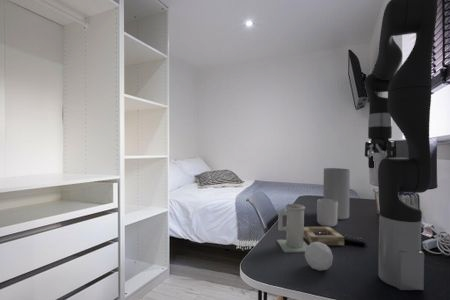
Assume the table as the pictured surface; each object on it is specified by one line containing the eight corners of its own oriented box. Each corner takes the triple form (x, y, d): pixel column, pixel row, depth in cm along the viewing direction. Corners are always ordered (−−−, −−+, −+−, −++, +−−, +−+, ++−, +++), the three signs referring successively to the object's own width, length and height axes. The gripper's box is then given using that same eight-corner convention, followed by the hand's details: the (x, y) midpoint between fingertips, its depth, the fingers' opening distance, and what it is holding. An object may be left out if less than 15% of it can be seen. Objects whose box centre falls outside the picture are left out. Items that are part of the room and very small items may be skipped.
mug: (335, 228, 108) (335, 203, 108) (314, 224, 113) (315, 201, 113) (339, 222, 118) (340, 199, 118) (320, 218, 123) (321, 197, 123)
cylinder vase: (354, 218, 125) (355, 169, 125) (336, 220, 120) (337, 170, 120) (335, 212, 136) (336, 167, 136) (317, 214, 132) (318, 168, 132)
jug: (306, 248, 85) (307, 208, 85) (280, 248, 84) (281, 207, 84) (300, 241, 91) (301, 204, 91) (275, 241, 91) (276, 203, 91)
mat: (313, 252, 83) (313, 250, 83) (284, 252, 83) (284, 250, 83) (302, 241, 93) (302, 239, 93) (276, 241, 93) (276, 239, 93)
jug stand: (344, 245, 90) (344, 237, 90) (312, 245, 89) (312, 237, 89) (329, 233, 102) (329, 226, 102) (300, 233, 101) (300, 226, 101)
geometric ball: (310, 276, 72) (295, 251, 76) (330, 263, 75) (314, 239, 78) (322, 276, 66) (305, 247, 69) (344, 261, 69) (326, 234, 72)
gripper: (359, 127, 99) (358, 167, 99) (383, 124, 85) (382, 170, 85) (377, 127, 99) (376, 167, 99) (404, 124, 85) (403, 171, 85)
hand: (379, 169), depth 92 cm, fingers open, 8 cm apart
